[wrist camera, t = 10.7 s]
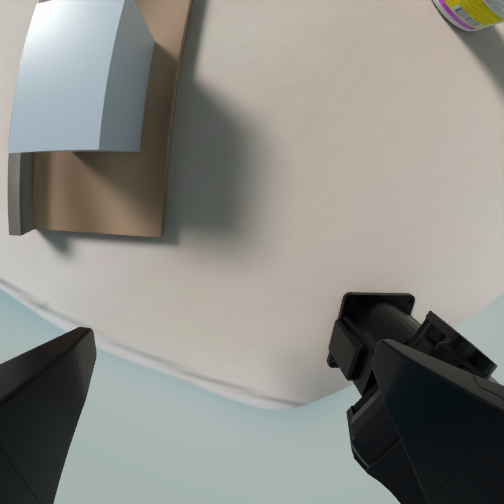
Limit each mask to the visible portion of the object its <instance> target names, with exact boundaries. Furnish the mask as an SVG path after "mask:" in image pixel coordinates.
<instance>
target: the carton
mask: <svg viewBox="0 0 504 504" xmlns="http://www.w3.org/2000/svg"><path fill="white" fill-rule="evenodd" d="M154 44H155V40H154V38H153V36H152V34H151V32H150V30H149V28H148V26H147V24H146V22H145V20H144V18H143V16H142V14H141V12H140V10H139V8H138V6H137V4H136V2H135V0H51V1H47V2H43V3H39V4H37V5H36V8H35V11H34V14H33V18H32V21H31V24H30V27H29V31H28V34H27V38H26V42H25V46H24V50H23V54H22V58H21V62H20V67H19V72H18V77H17V82H16V88H15V94H14V100H13V107H12V115H11V123H10V133H9V145H8V153H27V152H88V151H113V152H140V144H141V133H142V124H143V115H144V107H145V100H146V92H147V86H148V79H149V73H150V67H151V61H152V55H153V50H154Z"/></svg>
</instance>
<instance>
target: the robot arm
mask: <svg viewBox="0 0 504 504" xmlns="http://www.w3.org/2000/svg"><path fill="white" fill-rule="evenodd" d="M351 297H352V299H351V301H349V302H348V299H349V298H351ZM408 299H410V300H409V301H408ZM407 301H408V302H407ZM414 301H415V298H414V296H413V295H411V294H409V293H360V292H349V293H346V294H345V295H344V296H343V299H342V304H341V308H340V312H339V316H338V319H337V320H336V321H335V324H334V328H333V332H332V336H331V340H330V344H329V355H328V359H327V363H328V365H329V367H331V368H338V367H339V368H340V369H341V371H342V373H343V374H344V376H345V378H346V379H347V380H348V381H351V380H352V381H353V383H354V384H355V386H356V388H357V389H358V391H359V393H360V394H361V396H362V398H361V399H360V400H359V401H358V402H357V403H356V404H355V405H354V406H351V407H350V408H349V409H348V410H347V418H348V426H349V434H350V441H351V448H352V452H353V455H354V459H355V460H356V461H357V462H358V463H359V464H360V466H361V467H362V468H363V469H364V470H365V471H366V472H367V473H368V474H369V475H370V476H372V477H373V478H375V479H376V480H378V481H379V482H381V483H382V484H383V485H384V486H385V487H386V488H387V489H388V490H390V492H391V493H392V494H393V495H394V496H395V497H396V498H397V500H398V501H399V502H400V503H401V504H504V386H503V385H500V384H499V383H498V382H497V381H496V380H495V379H494V378H492V377H491V374H492V373H493V372H494V371H495V369H496V368H497V365H496V364H495V363H494V362H493V361H491V360H490V359H489V358H488V357H487V356H486V355H485V354H483V353H482V352H481V351H480V350H479V349H478V348H476V347H475V346H474V345H473V344H472V343H470V342H469V341H468V340H467V339H466V338H464V337H463V336H462V335H461V334H459V333H458V332H457V331H456V330H455V329H453V328H452V327H451V326H450V325H448V324H447V323H446V322H444V321H443V320H442V319H441V318H439V317H438V316H437V315H436V314H434V313H433V312H432V311H429V313H428V314H427V315H426V319H425V321H424V322H423V323H422V325H421V324H420V323H419V322H418V321H416V320H415V319H414V318H413V317H412V316H411V311H412V308H413V305H414ZM334 360H335V361H334ZM95 361H96V346H95V339H94V333H93V330H92V329H91V328H85V327H78V328H76V329H74V330H72V331H70V332H68V333H65V334H63V335H62V336H59V337H57V338H55V339H53V340H51V341H48V342H46V343H44V344H42V345H40V346H38V347H36V348H34V349H31V350H29V351H27V352H25V353H23V354H21V355H19V356H17V357H15V358H13V359H11V360H8V361H6V362H4V363H2V364H0V504H53V503H54V499H55V495H56V491H57V488H58V484H59V480H60V477H61V473H62V470H63V467H64V463H65V460H66V457H67V453H68V450H69V447H70V444H71V441H72V437H73V435H74V432H75V429H76V426H77V423H78V420H79V417H80V414H81V411H82V408H83V406H84V403H85V400H86V397H87V393H88V389H89V385H90V380H91V376H92V372H93V368H94V364H95ZM332 361H334V362H332Z"/></svg>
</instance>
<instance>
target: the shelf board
mask: <svg viewBox="0 0 504 504" xmlns="http://www.w3.org/2000/svg"><path fill="white" fill-rule="evenodd" d="M47 1H51V0H39V3H43V2H47ZM192 1H193V0H135V2H136V4H137V6H138V8H139V10H140V12H141V14H142V16H143V18H144V20H145V22H146V24H147V26H148V28H149V30H150V32H151V34H152V36H153V38H154V40H155V44H154V50H153V55H152V61H151V67H150V73H149V79H148V86H147V92H146V100H145V107H144V115H143V124H142V133H141V144H140V152H113V151H88V152H27V153H9V159H8V221H9V235H19V236H21V235H23V234H25V233H27V232H29V231H31V230H33V229H41V230H57V231H72V232H87V233H102V234H117V235H131V236H145V237H159V238H161V236H162V234H163V231H164V212H165V196H166V182H167V170H168V159H169V148H170V139H171V130H172V121H173V113H174V105H175V97H176V90H177V83H178V77H179V70H180V64H181V58H182V52H183V46H184V41H185V35H186V30H187V25H188V20H189V15H190V10H191V5H192ZM39 3H38V4H39Z"/></svg>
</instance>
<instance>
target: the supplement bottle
mask: <svg viewBox="0 0 504 504" xmlns="http://www.w3.org/2000/svg"><path fill="white" fill-rule="evenodd" d="M433 2H434V3H435V5H436V6H437V8H438V9H439V10H440V12H441V13H442V14H443V15H444V16H445V17H446V18H447V19H448V20H449V21H450V22H451V23H452V24H454V25H455V26H457V27H459V28H461V29H463V30H466V31H477V30H480V29H483V28H486V27H490V26H493V25H496V24H499V23H503V22H504V0H433Z"/></svg>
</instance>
